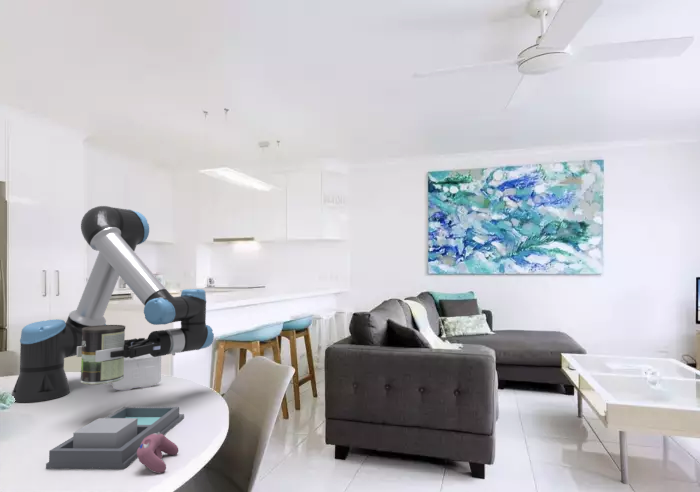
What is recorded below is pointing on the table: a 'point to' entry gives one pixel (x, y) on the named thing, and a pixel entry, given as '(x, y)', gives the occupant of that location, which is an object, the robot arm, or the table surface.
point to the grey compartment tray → (113, 438)
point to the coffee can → (101, 340)
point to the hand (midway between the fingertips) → (86, 354)
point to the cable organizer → (140, 372)
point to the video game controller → (155, 451)
